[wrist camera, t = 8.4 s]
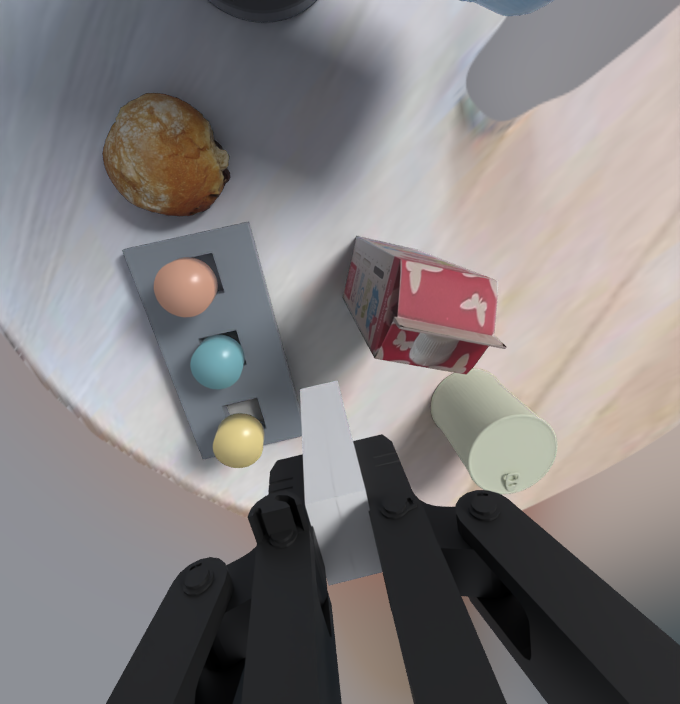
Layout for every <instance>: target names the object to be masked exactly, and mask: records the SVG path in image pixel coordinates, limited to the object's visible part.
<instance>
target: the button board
mask: <svg viewBox="0 0 680 704" xmlns="http://www.w3.org/2000/svg"><path fill="white" fill-rule="evenodd" d="M122 251H123V254H124V256H125V259H126V262H127V264H128V267H129V269H130V272H131V275H132V277H133V280H134V282H135V285H136V287H137V290H138V293H139V295H140V298H141V300H142V303H143V306H144V308H145V311H146V313H147V316H148V319H149V321H150V324H151V326H152V329H153V331H154V334H155V337H156V339H157V342H158V344H159V347H160V350H161V352H162V355H163V357H164V360H165V363H166V365H167V368H168V370H169V373H170V376H171V378H172V381H173V383H174V386H175V388H176V391H177V394H178V396H179V399H180V401H181V404H182V407H183V409H184V412H185V414H186V417H187V420H188V422H189V425H190V427H191V430H192V432H193V435H194V438H195V440H196V443H197V445H198V448H199V451H200V453H201V456H202V458H203V459H207V458H211V457H216V456H215V454H214V452H213V442H214V439H215V436H216V432H217V429H218V427H219V425H220V423H221V422H222V421H223V420H224V419H225V418H226V417H228V416H230V413H229V411H228V408H227V405H229V404H233V403H237V402H241V401H246V400H250V399H254V398H257V399H258V402H259V405H260V409H261V412H262V415H263V418H264V421H261V422H260V423H261V424H262V426H263V429H264V442H263V445H266V444H270V443H275V442H279V441H283V440H287V439H292V438H296V437H300V436H302V425H301V411H300V407H299V404H298V400H297V396H296V393H295V389H294V385H293V382H292V378H291V374H290V371H289V367H288V363H287V359H286V356H285V352H284V348H283V345H282V341H281V337H280V334H279V330H278V326H277V323H276V319H275V315H274V312H273V308H272V304H271V300H270V297H269V293H268V289H267V286H266V282H265V278H264V275H263V271H262V267H261V264H260V260H259V256H258V252H257V249H256V245H255V241H254V238H253V234H252V230H251V227H250V223H249V222H245V223H241V224H236V225H231V226H227V227H222V228H218V229H213V230H209V231H204V232H200V233H195V234H191V235H186V236H181V237H177V238H172V239H168V240H163V241H159V242H154V243H150V244H145V245H140V246H136V247H131V248H128V249H124V250H122ZM209 253H212V254H213V257H214V260H215V263H216V267H217V270H218V273H219V276H220V279H221V283H222V286H223V289H224V290H220V291H217V294H216V296H215V298H214V300H213V301H212V303H211V304H210V305H209V306H208V308H207V309H206V310H205V311H204V312H202V313H201V314H199V315H197V316H193V317H179V316H176V315H173V314H171V313H169V312H168V311H166V310H165V309H164V308H163V307H162V306H161V305H160V303H159V302H158V300H157V298H156V296H155V293H154V280H155V277H156V275H157V273H158V271H159V270H160V269H161V268H162V267H163V266H165V265H166V264H168V263H170V262H172V261H174V260H176V259H179V258H183V257H195V256H200V255H204V254H209ZM234 330H236V331H237V334H238V338H239V341H240V344H241V347H242V349H243V351H244V355H245V361H244V365H243V369H242V372H241V375H240V377H239V379H238V380H237V381H236V382H235V383H234V384H233V385H232V386H230V387H228V388H224V389H211V388H208V387H205V386H203V385H202V384H200V383H199V382H198V381H197V380H196V379H195V377H194V376H193V374H192V371H191V366H190V363H191V358H192V356H193V354H194V352H195V351H196V349H197V348H198V346H199V345H200V343H201V342H202V341H203V340H204V337H208V336H213V335H217V334H221V333H226V332H230V331H234Z"/></svg>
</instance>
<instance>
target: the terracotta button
mask: <svg viewBox="0 0 680 704" xmlns="http://www.w3.org/2000/svg"><path fill="white" fill-rule="evenodd" d="M217 289H218V283H217V278H216V276H215V274H214V272H213V270H212V269H211V268H210V267H209V266H208V265H207V264H206V263H204V262H203V261H201V260H199V259H196V258H191V257H183V258H179V259H176V260H174V261H172V262H170V263H168V264H166V265H165V266H163V267H162V268H161V269H160V270H159V271H158V273H157V275H156V277H155V280H154V293H155V296H156V298H157V300H158V302H159V303H160V305H161V306H162V307H163V308H164V309H165V310H166V311H168V312H169V313H171V314H173V315H176V316H179V317H193V316H197V315H199V314H201V313H202V312H204V311H205V310H206V309H207V308H208V306H209V305H210V304H211V303H212V301H213V300H214V298H215V296H216V294H217Z"/></svg>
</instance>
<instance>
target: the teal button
mask: <svg viewBox="0 0 680 704" xmlns="http://www.w3.org/2000/svg"><path fill="white" fill-rule="evenodd" d="M244 361H245V355H244V351H243V349H242V347H241V345H240V344H239V343H238V342H237V341H236V340H234V339H233V338H231V337H229V336H225V335H213V336H210V337H208V338H206V339H204V340H203V341H202V342H201V343H200V345H199V346H198V348H197V349H196V351H195V352H194V354H193V356H192V358H191V363H190V366H191V371H192V374H193V376H194V377H195V379H196V380H197V381H198V382H199V383H200V384H202V385H203V386H205V387H208V388H211V389H224V388H228V387H230V386H232V385H233V384H234V383H235V382H236V381H237V380H238V379H239V377H240V375H241V372H242V369H243V365H244Z"/></svg>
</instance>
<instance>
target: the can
mask: <svg viewBox="0 0 680 704" xmlns="http://www.w3.org/2000/svg"><path fill="white" fill-rule="evenodd" d="M431 414H432V418H433V420H434V422H435V423H436V425H437V426H438V427H439V428H440V429H441V430H442V432H443V433H444V435H445V436H446V438H447V439H448V441H449V442H450V444H451V445H452V447H453V448H454V450H455V451H456V453H457V454H458V456H459V458H460V459H461V461H462V462H463V464H464V465H465V467H466V469H467V470H468V472H469V474H470V476H471V478H472V480H473V481H474V482H475V483H476V484H477V485H478V486H479V487H480V488H482V489H484V490H489V491H493V492H496V493H499V494H511V493H516V492H519V491H522V490H525V489H527V488H529V487H531V486H532V485H534V484H535V483H537V482H538V481H539V480H540V479H541V478H543V476H544V475H545V474H546V473H547V472H548V471H549V469H550V468H551V466H552V464H553V462H554V460H555V457H556V453H557V438H556V435H555V433H554V431H553V429H552V427H551V426H550V425H549V424H548V423H547V422H546V421H544V420H543V419H541V418H540V417H539V416H537V415H536V414H535V413H534V412H533V411H531V410H530V409H529V408H528V407H527V406H526V405H524V404H523V403H522V402H521V401H520V400H519V399H517V398H516V397H515V396H514V395H513V394H512V393H511V392H509V391H508V390H507V389H506V388H505V387H504V386H503V385H502V384H501V383H500V382H499V381H498V379H497V378H496V377H495V376H494V375H492V374H491V373H489V372H487V371H485V370H481V369H474V368H472V369H471V370H470V371H469V373H468V374H467V375H466V374H460V373H453V374H451V375H450V376H448V377H447V378H445V379H444V380H443V381H442V382H441V383H440V384H439V386H438V387H437V389H436V390H435V392H434V394H433V397H432V401H431Z"/></svg>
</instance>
